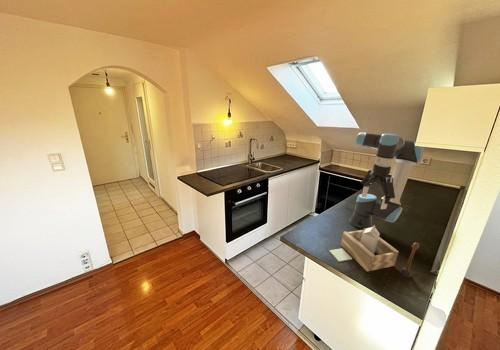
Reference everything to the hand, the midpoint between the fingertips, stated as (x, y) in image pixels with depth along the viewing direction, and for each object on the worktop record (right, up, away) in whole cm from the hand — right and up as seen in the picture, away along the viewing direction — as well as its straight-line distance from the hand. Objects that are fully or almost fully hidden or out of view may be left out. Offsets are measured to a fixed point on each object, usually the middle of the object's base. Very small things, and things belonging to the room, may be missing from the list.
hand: (373, 202), depth 111 cm
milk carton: (+2, -33, +11) cm, 34 cm away
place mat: (-13, -32, +10) cm, 36 cm away
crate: (+2, -32, +11) cm, 34 cm away
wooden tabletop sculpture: (+16, -38, -2) cm, 41 cm away
